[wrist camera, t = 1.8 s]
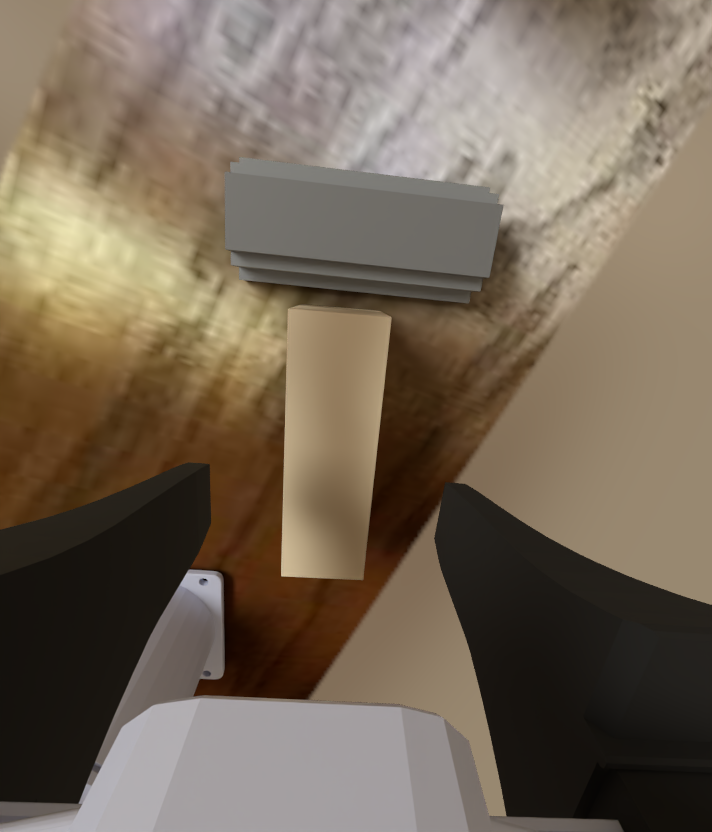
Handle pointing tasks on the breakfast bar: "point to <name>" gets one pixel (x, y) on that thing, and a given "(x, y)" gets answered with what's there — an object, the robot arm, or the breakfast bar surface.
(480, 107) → the breakfast bar surface
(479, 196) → the stepped block
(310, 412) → the bar
